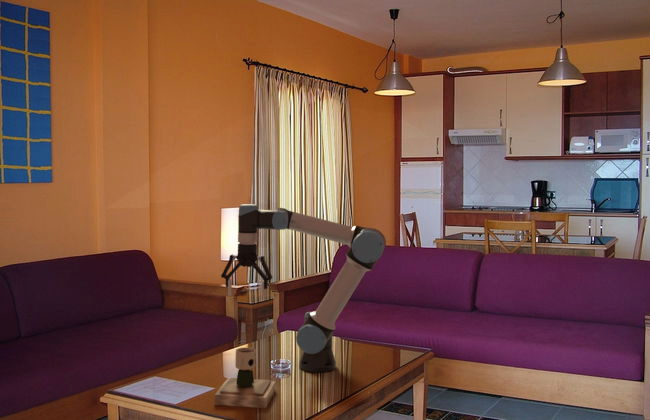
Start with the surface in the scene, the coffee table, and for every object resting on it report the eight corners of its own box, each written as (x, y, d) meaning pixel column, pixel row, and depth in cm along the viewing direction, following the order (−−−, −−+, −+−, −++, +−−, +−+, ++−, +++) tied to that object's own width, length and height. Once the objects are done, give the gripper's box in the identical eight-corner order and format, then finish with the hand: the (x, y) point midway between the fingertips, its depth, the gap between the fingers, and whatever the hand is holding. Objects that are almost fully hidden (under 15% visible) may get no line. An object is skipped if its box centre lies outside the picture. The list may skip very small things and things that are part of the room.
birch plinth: (275, 390, 248) (275, 379, 248) (265, 408, 230) (266, 395, 230) (227, 387, 250) (227, 376, 250) (214, 404, 232) (214, 392, 232)
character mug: (248, 392, 233) (248, 355, 232) (229, 389, 235) (230, 352, 234) (260, 382, 243) (261, 347, 243) (242, 380, 246) (243, 345, 245)
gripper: (280, 243, 269) (278, 295, 270) (219, 240, 271) (218, 292, 273) (276, 245, 261) (275, 299, 263) (214, 243, 264) (213, 296, 265)
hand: (246, 296), depth 268 cm, fingers open, 13 cm apart
